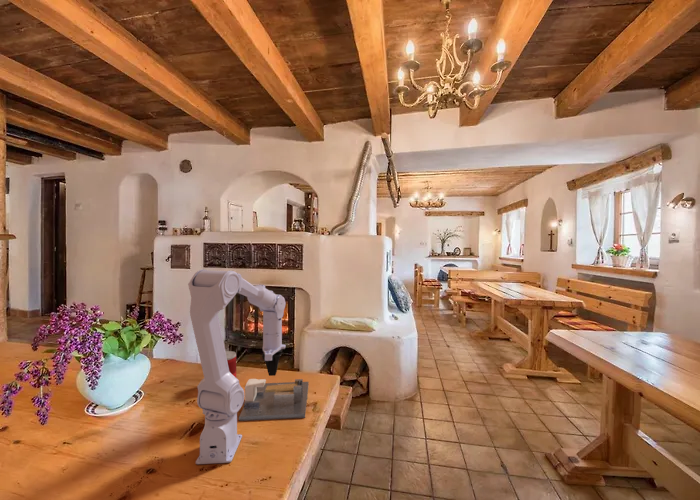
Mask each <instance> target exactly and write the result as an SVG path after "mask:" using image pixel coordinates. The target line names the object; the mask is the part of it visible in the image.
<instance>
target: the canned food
mask: <svg viewBox="0 0 700 500" xmlns="http://www.w3.org/2000/svg"><path fill="white" fill-rule="evenodd" d="M225 352H226V357H227V362H228V367H229V372H230V373H231V374H232V375H234V376H235V377H236V378H237V353H236V352H235V351H231V350H227V351H226V350H225Z"/></svg>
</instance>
